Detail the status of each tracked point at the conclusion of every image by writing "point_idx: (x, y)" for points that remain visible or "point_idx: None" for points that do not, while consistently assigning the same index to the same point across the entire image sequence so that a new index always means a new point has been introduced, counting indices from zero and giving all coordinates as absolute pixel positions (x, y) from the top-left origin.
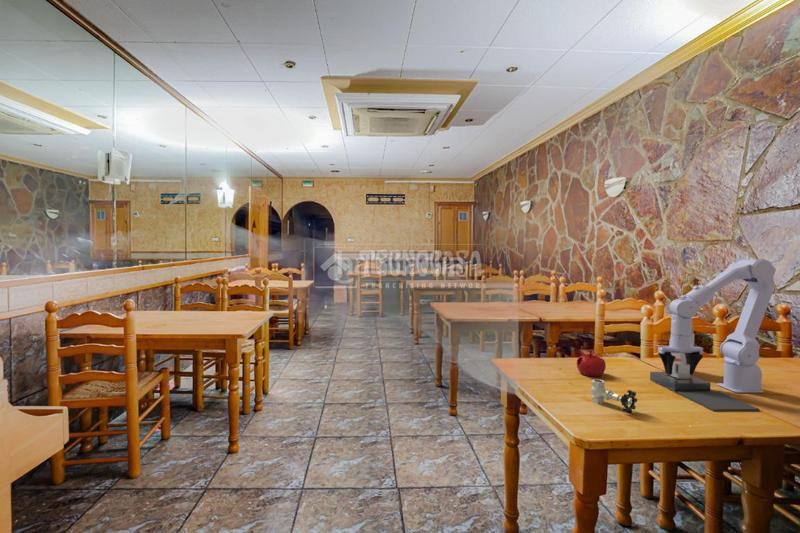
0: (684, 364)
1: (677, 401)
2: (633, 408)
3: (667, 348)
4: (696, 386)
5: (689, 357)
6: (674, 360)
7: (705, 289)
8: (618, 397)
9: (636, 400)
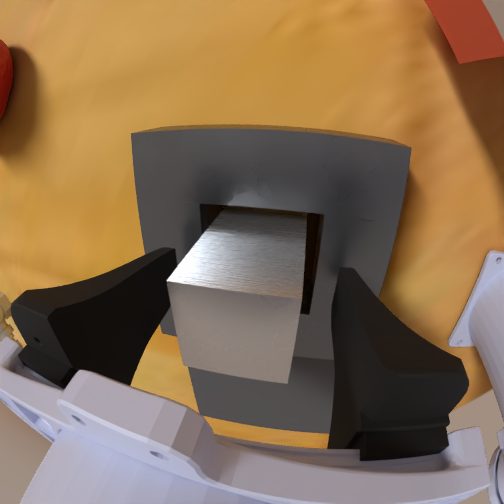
0: (242, 372)
1: (144, 357)
2: None
3: (37, 429)
4: None
5: (349, 393)
6: (470, 9)
7: None
8: None
9: None
